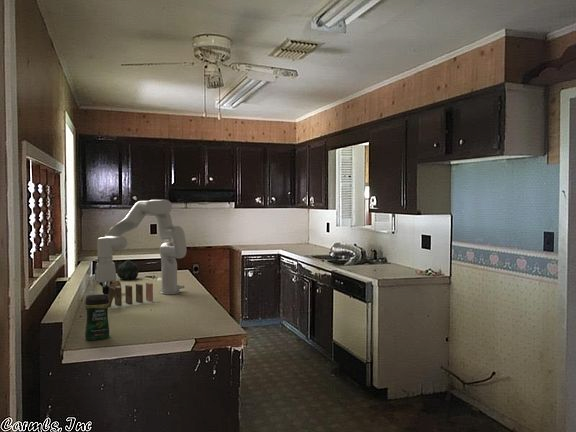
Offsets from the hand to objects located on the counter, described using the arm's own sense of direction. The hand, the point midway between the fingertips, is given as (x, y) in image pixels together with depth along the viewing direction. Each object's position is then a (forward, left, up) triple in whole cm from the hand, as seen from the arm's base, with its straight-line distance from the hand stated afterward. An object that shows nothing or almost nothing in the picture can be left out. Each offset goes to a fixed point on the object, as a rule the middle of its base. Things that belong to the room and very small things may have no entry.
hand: (105, 293), depth 264 cm
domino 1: (-1, 0, -7) cm, 7 cm away
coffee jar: (+22, +55, -8) cm, 60 cm away
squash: (-44, -81, -8) cm, 92 cm away
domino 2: (-7, 0, -7) cm, 10 cm away
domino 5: (-25, 0, -7) cm, 26 cm away
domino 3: (-13, 0, -7) cm, 14 cm away
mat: (-12, 0, -7) cm, 14 cm away
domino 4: (-19, 0, -7) cm, 20 cm away
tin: (-15, -31, -8) cm, 35 cm away
